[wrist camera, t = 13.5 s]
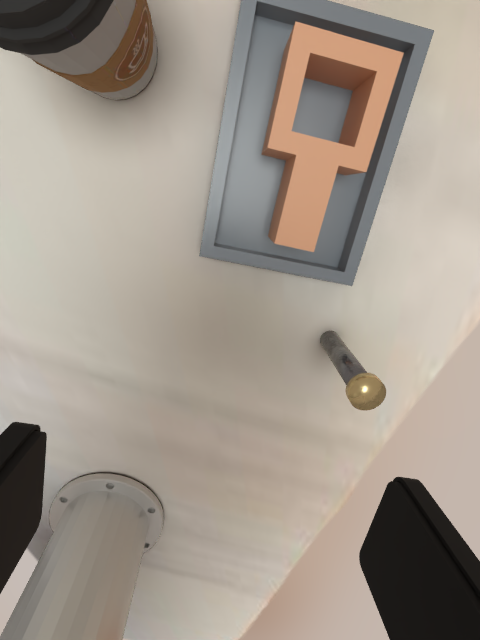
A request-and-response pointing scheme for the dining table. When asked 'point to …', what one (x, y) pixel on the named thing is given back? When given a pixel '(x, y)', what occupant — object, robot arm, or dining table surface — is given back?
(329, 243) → the tray
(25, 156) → the dining table surface
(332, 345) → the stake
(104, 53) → the coffee cup
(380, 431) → the dining table surface
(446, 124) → the dining table surface
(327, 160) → the orange flat handled frame
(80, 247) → the dining table surface
